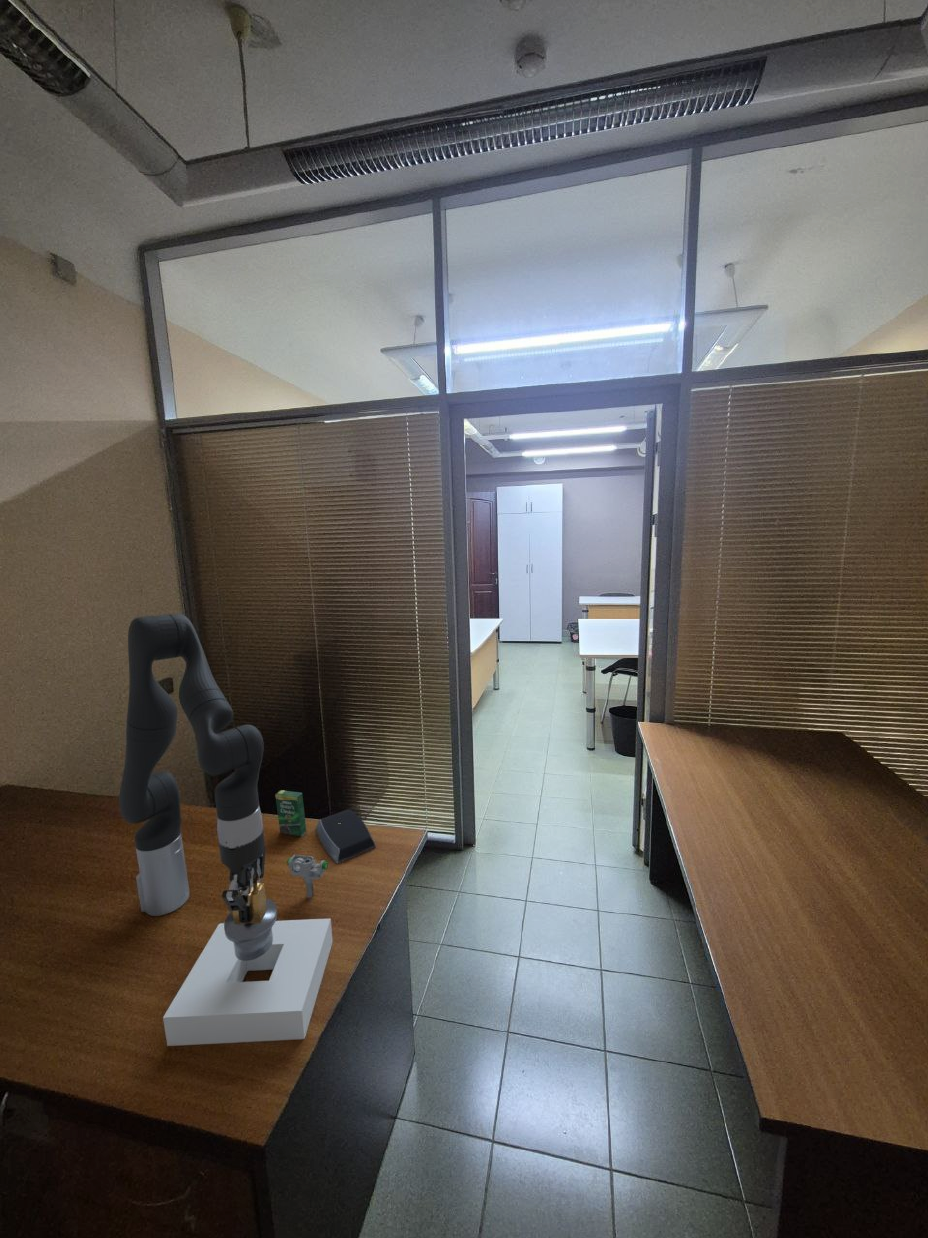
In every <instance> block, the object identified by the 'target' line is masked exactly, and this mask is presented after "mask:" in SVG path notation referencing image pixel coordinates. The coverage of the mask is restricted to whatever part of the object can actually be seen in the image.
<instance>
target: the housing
mask: <svg viewBox="0 0 928 1238" xmlns="http://www.w3.org/2000/svg"><path fill="white" fill-rule="evenodd" d="M224 923H225V922H223V923H222V922H221V923H220V922H219V924H218V925H217V927H216V929H215V930H214V931H213V933H212V935H211V937H210V938H209V939H208V942H207V943H206V945H205V947H204V948H203V950H202V952H201V953H200V955H199V956H198V958H197V960H196V961H195V963H194V965H193V966H192V968H191V971H189V973H188V975H187V977H186V978H185V979H184V981H183V983H182V985H181V986H180V988H179V990H178V991H177V994H175V997H174V998H173V1000H172V1001H171V1003H170V1005H169V1007H168V1008H167V1010H166V1012H165V1013H164V1015H163V1017H162V1020H163V1026H164V1032H165V1033H164V1034H165V1038H166V1045H167V1047H176V1046H177V1047H178V1046H194V1045H197V1046H198V1045H213V1044H215V1045H216V1044H235V1043H237V1044H238V1043H253V1042H270V1041H276V1042H277V1041H291V1040H292V1041H293V1040H305V1038H306V1036H307V1032H308V1028H309V1026H310V1021H311V1018H312V1014H313V1011H314V1007H315V1004H316V1001H317V999H318V998H317V997H318V994H319V990H320V987H321V984H322V981H323V977H324V974H325V970H326V966H327V963H328V960H329V956H330V952H331V948H332V945H333V931H332V928H333V927H332V919H331V918H313V919H289V920H276V921H275V923H274V925H273V926H272V934H273V942H272V945H271V947H270V948H269V949H268V951H267V952H266V953H264V954H263V955H262V956H260V957H258V958H256V959H253V960H249V961H242V960H239V959H238V958H237V957H236V956H235V950H234V942H232V941H230V940H228V939H227V937H226V936H225V930H224ZM267 970H268V971H269V970H272V972H271V975H270V977H269V980H257V981H254V980H253V981H244V979H245V977H246V975H247V973H248V971H250V972H252V971H267Z"/></svg>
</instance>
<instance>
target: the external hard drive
mask: <svg viewBox="0 0 928 1238" xmlns="http://www.w3.org/2000/svg"><path fill="white" fill-rule="evenodd" d="M338 823H341V824H338ZM315 831H316V834H317V837H318V839H319V841H320V843H321V845H322V847H323V848H324V850H325V851H326V853H327V854H328V855H329V856H330V858H331V860H333V861H334V863H335V864H340V863H342V862H345V861H347V860H349V859H351V858H353V857H356V856H359V855H361V854H364V853H366V852H369V851H371V850H373V849H376V848H377V846H376V844H375V841H374V838H373V837H372V835H371V832H370V831H369V829H368V827H367V826H366V824H365V823H364V821H363V820H362V819H361V817H359V815H357V813H355V812H354V811H353V810H352V809H350V808H348V809H345V810H342V811H339V812H336V813H333V814H331V815H329V816H325V817H323V818H320V819H319V820H318V821H317V824H316V827H315Z"/></svg>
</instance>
